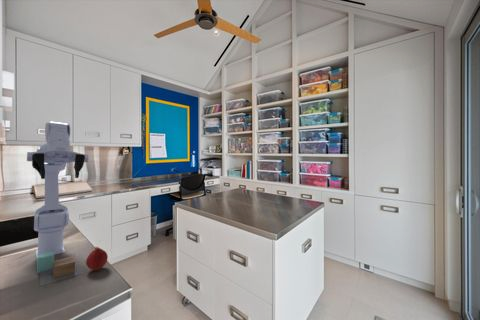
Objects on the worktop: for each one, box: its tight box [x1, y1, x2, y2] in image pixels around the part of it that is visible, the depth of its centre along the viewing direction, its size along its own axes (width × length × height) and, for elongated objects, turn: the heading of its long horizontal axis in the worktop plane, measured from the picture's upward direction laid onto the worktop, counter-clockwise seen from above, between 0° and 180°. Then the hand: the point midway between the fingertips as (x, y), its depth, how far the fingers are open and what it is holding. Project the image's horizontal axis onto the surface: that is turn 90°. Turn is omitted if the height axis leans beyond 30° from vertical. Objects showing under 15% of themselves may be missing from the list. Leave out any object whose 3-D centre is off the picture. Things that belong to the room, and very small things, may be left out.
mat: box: [38, 261, 85, 287], centre depth 66 cm, size 10×10×1 cm
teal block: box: [36, 251, 56, 274], centre depth 68 cm, size 4×4×5 cm
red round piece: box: [85, 246, 109, 272], centre depth 68 cm, size 6×6×8 cm
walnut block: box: [53, 255, 76, 278], centre depth 66 cm, size 5×5×4 cm
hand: (61, 176), depth 61 cm, fingers open, 7 cm apart
